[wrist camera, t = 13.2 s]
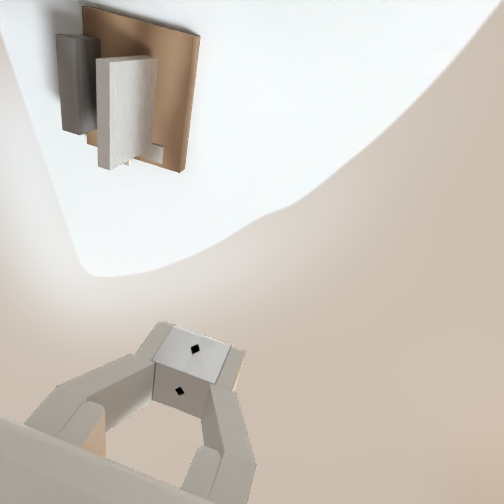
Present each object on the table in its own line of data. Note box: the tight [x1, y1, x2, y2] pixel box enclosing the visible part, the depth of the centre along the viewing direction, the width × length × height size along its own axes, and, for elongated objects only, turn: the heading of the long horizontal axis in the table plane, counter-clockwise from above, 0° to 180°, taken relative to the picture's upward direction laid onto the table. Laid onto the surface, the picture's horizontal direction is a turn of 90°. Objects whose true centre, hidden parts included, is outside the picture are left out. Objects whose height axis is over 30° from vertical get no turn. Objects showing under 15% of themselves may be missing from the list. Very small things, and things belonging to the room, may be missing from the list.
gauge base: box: [56, 6, 200, 173], centre depth 38 cm, size 12×14×6 cm
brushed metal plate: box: [96, 55, 158, 170], centre depth 36 cm, size 5×12×9 cm, turn 168°
